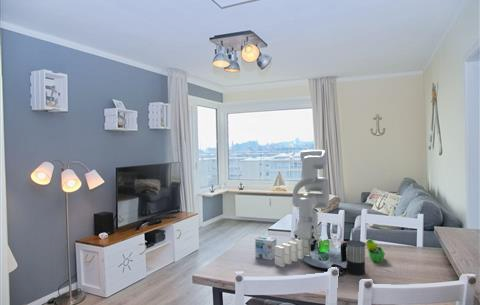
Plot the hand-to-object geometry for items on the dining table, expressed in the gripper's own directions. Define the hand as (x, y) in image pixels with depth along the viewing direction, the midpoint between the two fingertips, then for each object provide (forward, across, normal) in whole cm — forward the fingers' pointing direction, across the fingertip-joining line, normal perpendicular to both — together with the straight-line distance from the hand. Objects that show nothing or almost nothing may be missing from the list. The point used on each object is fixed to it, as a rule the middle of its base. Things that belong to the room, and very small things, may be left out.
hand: (305, 248), depth 193 cm
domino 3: (+4, 0, +12) cm, 12 cm away
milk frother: (+4, -30, +5) cm, 31 cm away
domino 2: (+4, 0, +17) cm, 17 cm away
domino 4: (+4, 0, +6) cm, 7 cm away
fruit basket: (+4, -30, -22) cm, 38 cm away
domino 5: (+4, 0, 0) cm, 4 cm away
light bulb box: (+4, +14, +18) cm, 24 cm away
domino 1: (+4, 0, +22) cm, 23 cm away
